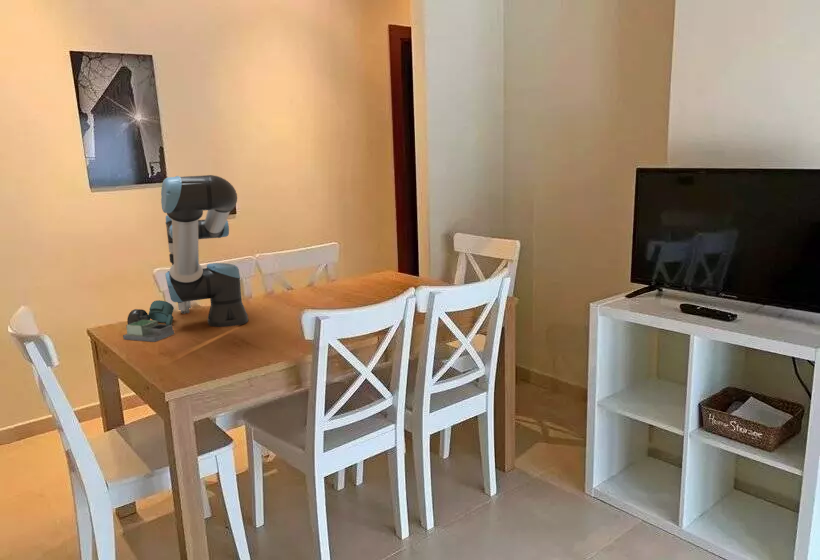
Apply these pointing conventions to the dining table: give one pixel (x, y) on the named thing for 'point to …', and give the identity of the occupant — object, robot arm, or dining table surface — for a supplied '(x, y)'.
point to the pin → (186, 308)
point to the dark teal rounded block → (161, 312)
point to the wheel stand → (137, 316)
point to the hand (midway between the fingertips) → (184, 308)
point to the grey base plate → (147, 331)
